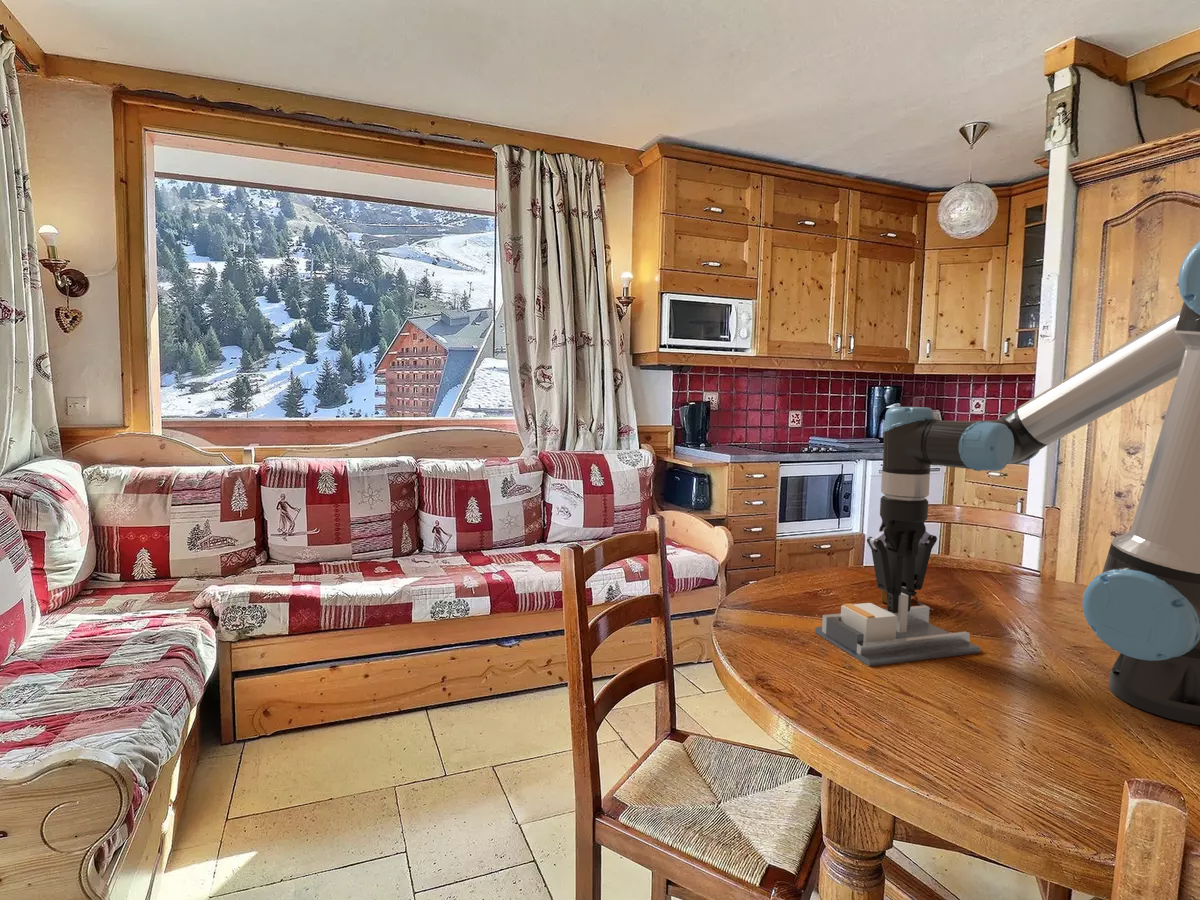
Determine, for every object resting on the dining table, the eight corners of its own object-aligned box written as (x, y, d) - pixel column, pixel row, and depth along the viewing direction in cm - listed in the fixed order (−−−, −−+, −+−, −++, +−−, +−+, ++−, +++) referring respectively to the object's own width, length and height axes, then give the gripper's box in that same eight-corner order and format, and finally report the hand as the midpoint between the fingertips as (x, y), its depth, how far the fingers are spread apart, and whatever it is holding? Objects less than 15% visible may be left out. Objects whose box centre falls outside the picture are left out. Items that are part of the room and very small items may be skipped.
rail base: (979, 652, 113) (981, 629, 113) (869, 666, 107) (870, 642, 107) (915, 622, 128) (916, 601, 127) (815, 632, 122) (815, 611, 121)
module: (895, 644, 114) (897, 614, 113) (865, 647, 112) (866, 617, 112) (868, 629, 121) (870, 601, 120) (839, 632, 119) (841, 603, 119)
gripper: (919, 491, 120) (912, 619, 122) (857, 494, 117) (852, 625, 119) (952, 498, 113) (944, 633, 115) (887, 501, 109) (881, 641, 112)
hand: (897, 629), depth 117 cm, fingers closed
